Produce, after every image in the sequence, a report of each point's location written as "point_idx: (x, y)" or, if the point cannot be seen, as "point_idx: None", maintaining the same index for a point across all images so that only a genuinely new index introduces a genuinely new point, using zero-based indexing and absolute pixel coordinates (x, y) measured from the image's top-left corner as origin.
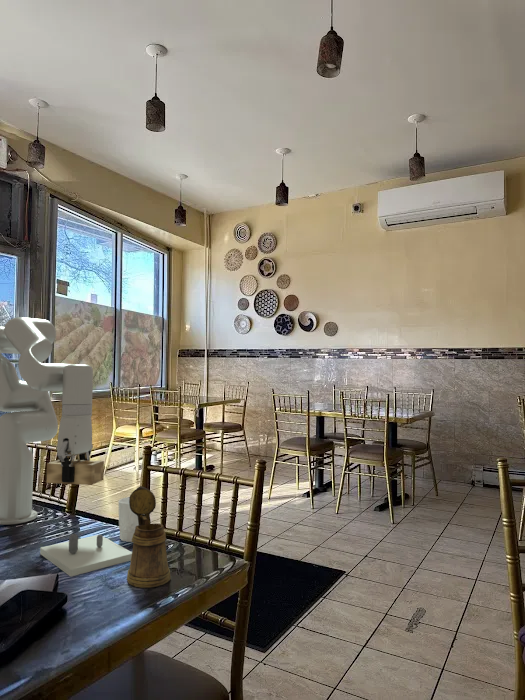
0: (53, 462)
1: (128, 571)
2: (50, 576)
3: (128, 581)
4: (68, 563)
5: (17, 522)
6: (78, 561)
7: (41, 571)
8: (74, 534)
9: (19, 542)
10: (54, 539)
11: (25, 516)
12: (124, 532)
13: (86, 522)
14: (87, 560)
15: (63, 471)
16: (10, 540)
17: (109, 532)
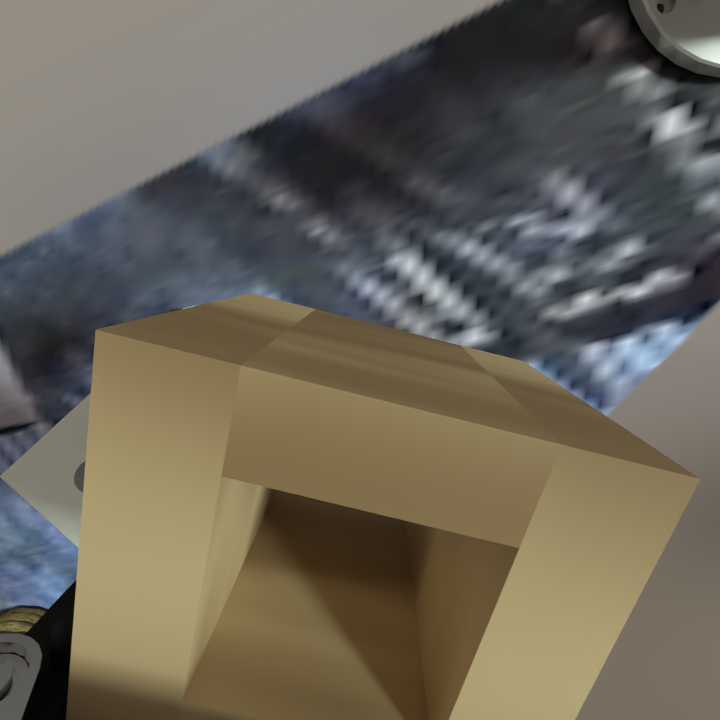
0: (223, 442)
1: (1, 629)
2: (12, 407)
3: (4, 614)
4: (44, 456)
5: (634, 3)
6: (67, 481)
7: (43, 366)
8: (80, 488)
9: (327, 159)
10: (364, 303)
11: (709, 15)
12: None
13: (602, 372)
14: (78, 505)
15: (63, 596)
16: (356, 100)
17: None
